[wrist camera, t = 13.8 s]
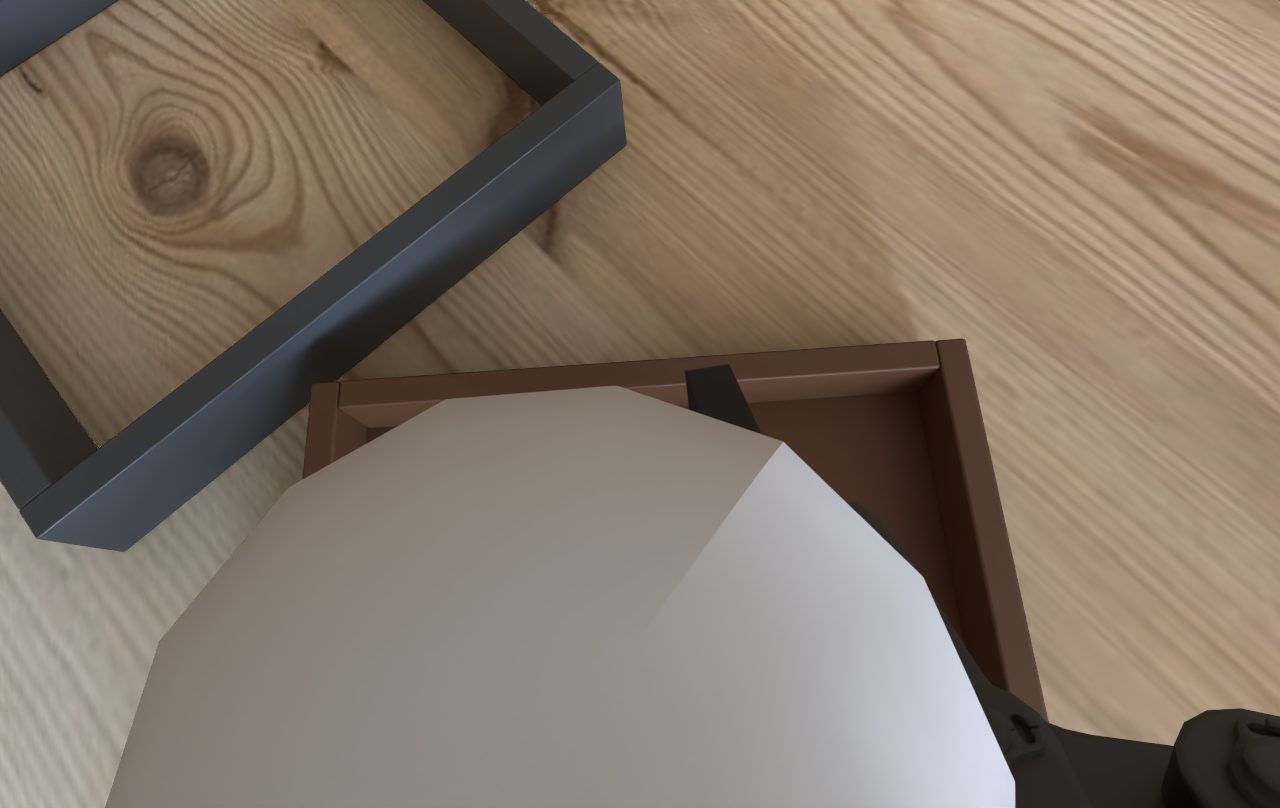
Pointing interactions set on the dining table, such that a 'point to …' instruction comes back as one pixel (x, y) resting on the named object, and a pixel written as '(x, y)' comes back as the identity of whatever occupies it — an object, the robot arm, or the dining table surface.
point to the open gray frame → (317, 317)
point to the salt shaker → (562, 632)
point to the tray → (805, 457)
